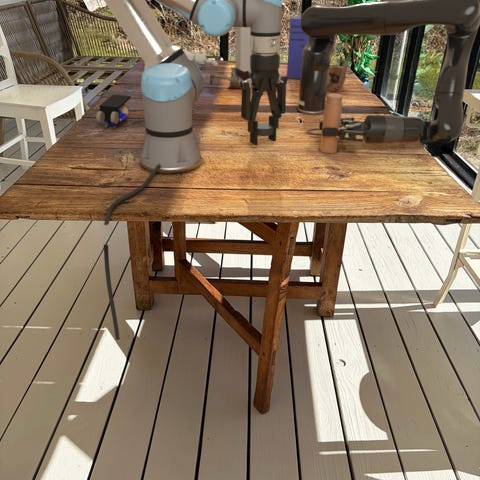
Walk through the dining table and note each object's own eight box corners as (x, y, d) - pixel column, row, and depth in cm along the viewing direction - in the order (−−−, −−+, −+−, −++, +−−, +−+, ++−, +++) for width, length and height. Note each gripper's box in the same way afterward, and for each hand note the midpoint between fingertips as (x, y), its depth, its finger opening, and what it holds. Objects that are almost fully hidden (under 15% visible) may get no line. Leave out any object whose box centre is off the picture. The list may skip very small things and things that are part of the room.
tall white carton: (273, 76, 210) (276, 6, 196) (239, 77, 209) (240, 6, 194) (266, 67, 226) (268, 2, 212) (235, 67, 225) (235, 1, 210)
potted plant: (332, 93, 201) (333, 95, 187) (318, 79, 200) (318, 79, 186) (355, 70, 197) (357, 69, 183) (340, 55, 196) (341, 53, 182)
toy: (173, 75, 210) (172, 58, 207) (149, 64, 228) (148, 49, 224) (220, 69, 222) (220, 53, 218) (194, 59, 239) (193, 45, 236)
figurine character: (119, 135, 145) (134, 115, 156) (115, 111, 140) (131, 93, 152) (98, 134, 145) (114, 114, 157) (93, 110, 141) (110, 92, 152)
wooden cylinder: (337, 153, 131) (344, 97, 123) (320, 152, 131) (326, 97, 123) (335, 147, 135) (342, 93, 127) (319, 147, 135) (324, 92, 127)
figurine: (210, 87, 179) (288, 95, 182) (212, 65, 176) (291, 73, 180) (208, 84, 201) (278, 91, 205) (210, 64, 198) (280, 71, 202)
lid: (268, 129, 134) (269, 121, 133) (276, 135, 129) (276, 127, 128) (250, 131, 132) (250, 123, 131) (257, 137, 128) (257, 130, 127)
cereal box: (326, 77, 211) (332, 17, 198) (327, 79, 206) (333, 19, 194) (286, 76, 211) (290, 16, 199) (287, 78, 207) (290, 18, 195)
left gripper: (241, 59, 113) (241, 152, 125) (303, 51, 121) (297, 139, 133) (225, 54, 119) (227, 143, 131) (286, 47, 127) (282, 132, 139)
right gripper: (379, 108, 134) (318, 107, 134) (392, 124, 122) (326, 123, 122) (374, 134, 138) (315, 133, 138) (387, 152, 125) (323, 151, 125)
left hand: (262, 141), depth 132 cm, fingers closed on lid, 5 cm apart
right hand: (321, 128), depth 130 cm, fingers closed on wooden cylinder, 4 cm apart
